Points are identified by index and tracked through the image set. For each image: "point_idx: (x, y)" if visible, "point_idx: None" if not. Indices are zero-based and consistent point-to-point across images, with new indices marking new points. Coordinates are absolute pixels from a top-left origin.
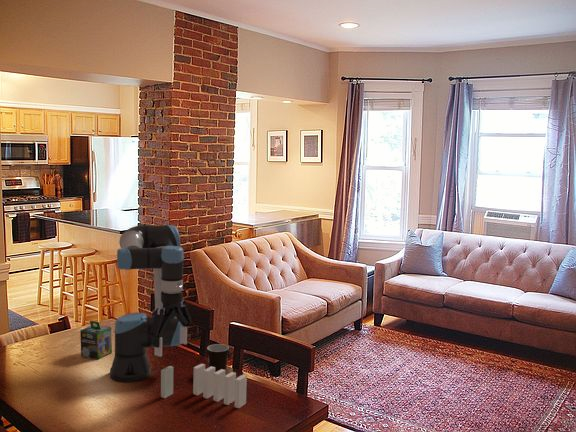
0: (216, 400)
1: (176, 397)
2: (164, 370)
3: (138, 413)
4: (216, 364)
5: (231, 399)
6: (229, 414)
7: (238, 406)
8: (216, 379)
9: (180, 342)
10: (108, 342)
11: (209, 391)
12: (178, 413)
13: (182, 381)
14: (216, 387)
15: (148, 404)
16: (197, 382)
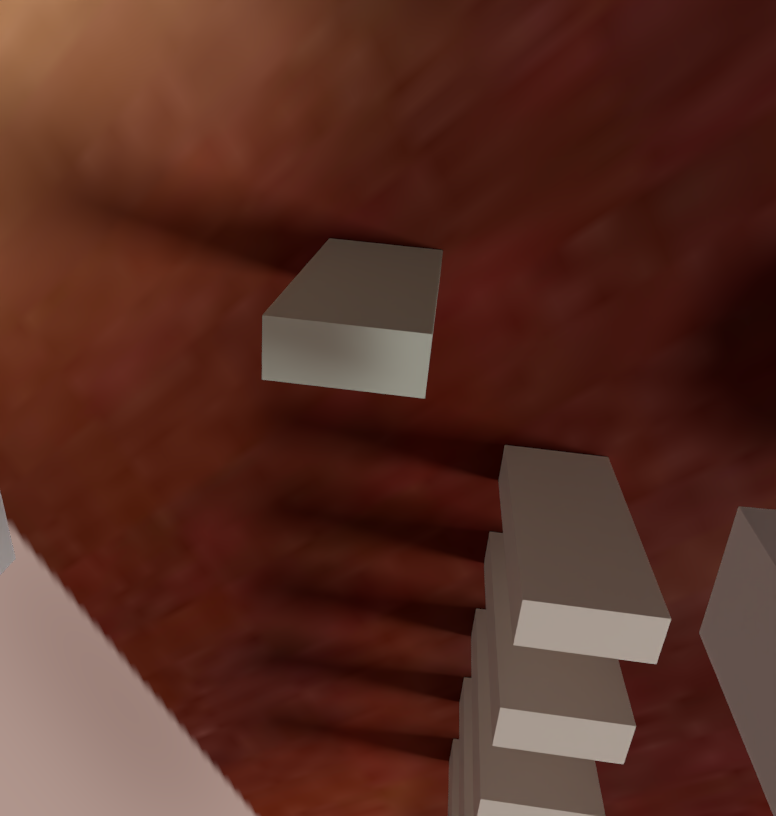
0: (472, 634)
1: None
2: (270, 365)
3: (13, 259)
4: None
5: None
6: (355, 745)
7: (449, 769)
8: (475, 769)
9: (737, 538)
10: None
11: None
12: (193, 505)
13: (724, 213)
14: (474, 710)
15: (166, 230)
16: (505, 546)
